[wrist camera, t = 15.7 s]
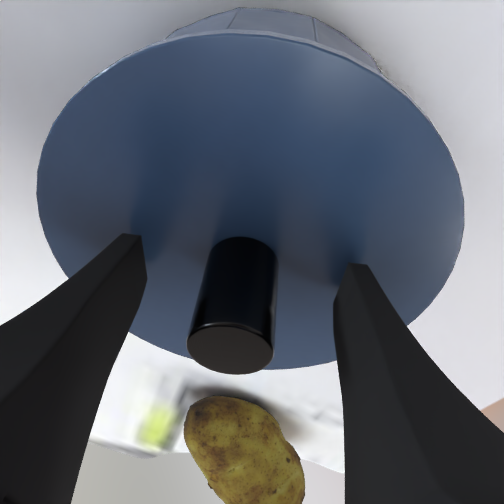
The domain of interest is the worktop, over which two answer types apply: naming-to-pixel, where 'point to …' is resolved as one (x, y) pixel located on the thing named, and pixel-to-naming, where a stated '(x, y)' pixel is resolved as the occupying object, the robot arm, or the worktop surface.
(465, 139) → the worktop surface
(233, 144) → the lid
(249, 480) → the potato
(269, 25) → the pot
